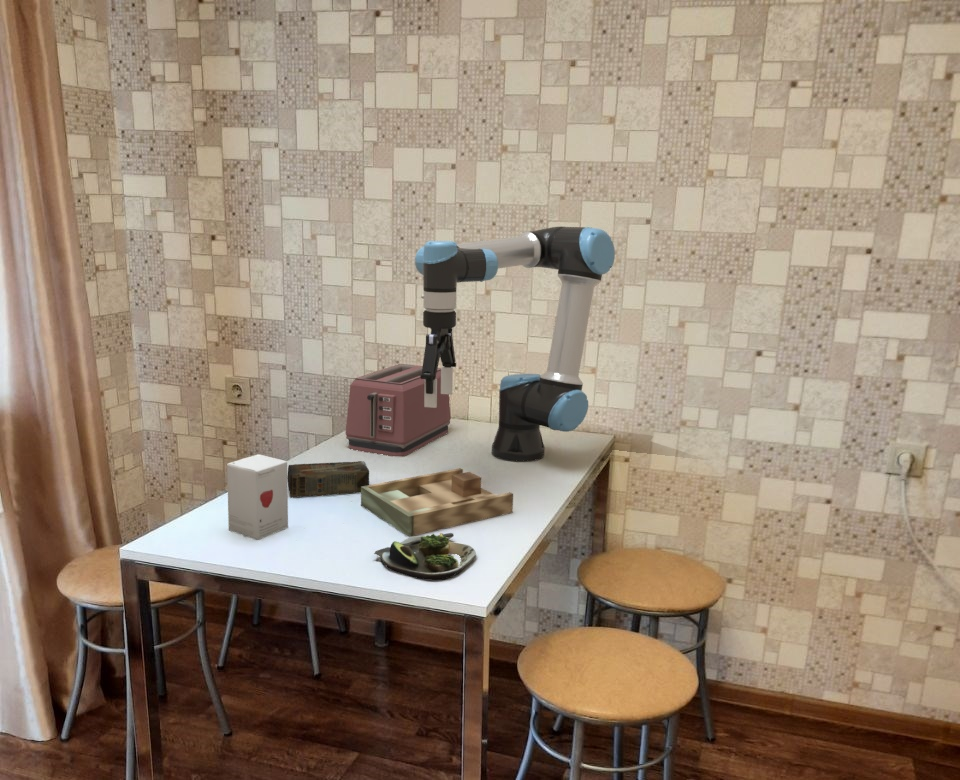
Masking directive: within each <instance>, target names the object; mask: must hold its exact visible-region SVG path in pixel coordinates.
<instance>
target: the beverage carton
mask: <svg viewBox="0 0 960 780" xmlns="http://www.w3.org/2000/svg"><path fill="white" fill-rule="evenodd" d="M367 485H370V470H369V467H368V466H367V464H366V462H365V461H362V460H357V461H342V462H341V461H339V462H317V463H314V462H313V463H296V464H288V465H287V490H288V493H289V497H290V498H292V497H293V498H305V497H306V498H307V497H320V496H322V495H323V496H334V495H345V494H346V495H347V494H359V493H360V494H361V487H362V486H367Z"/></svg>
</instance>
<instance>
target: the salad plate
mask: <svg viewBox="0 0 960 780" xmlns="http://www.w3.org/2000/svg"><path fill="white" fill-rule="evenodd" d="M452 538H454V533H453V532H448V533H441V532H440V533H439V534H438V535H436V534H435V533H432V534H431V535H429V534H427V535H424V536H422V535H421V536H410V537H407V538H406V539H404V540H402V541H401V542H399V541H393V542H392V543H391V544H390V546H387V547H384V548H381V549H378V550H376V551H374V553H373V554H374V555H377V556H379V558H381V561H382V563H383V564H384V565H385V567H386V568H387V569H389V570H390V571H392V572H394V573H397V574H400V575H404V576H406V577H412V578H414V579H418V580H419V579H420V580H426V581H428V580H429V581H439V580H445V579H449V578H451V577H454V576H456V575H458V574H459V573H461V572H462V571H463V569H464V568H466V567H467V566H468V565H469V564H470V563H471V562H472V561H473V559H474V558H476V555H477V552H476V549H475V548H474V547H472V546H471V545H469V544H465V543H460V542H459V543H458V542H454V541H450V539H452ZM455 554H457V555H456V556H458V555H459V556H460V557H459V556H458V557H459V558H461V559H460V562H459V560H458V559H457V558H455V556H454V555H455ZM449 555H450V556H449Z"/></svg>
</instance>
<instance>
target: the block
mask: <svg viewBox="0 0 960 780" xmlns="http://www.w3.org/2000/svg"><path fill="white" fill-rule="evenodd" d="M481 488H482V476H479V475H477V474H475V473H473V472H471V471H466V472H463V473H460V474H454V475H452V490H451V491H452V492H454V493H456V494H458V495H460V496H462V497H468V496H472V495H477V494H481Z"/></svg>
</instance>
